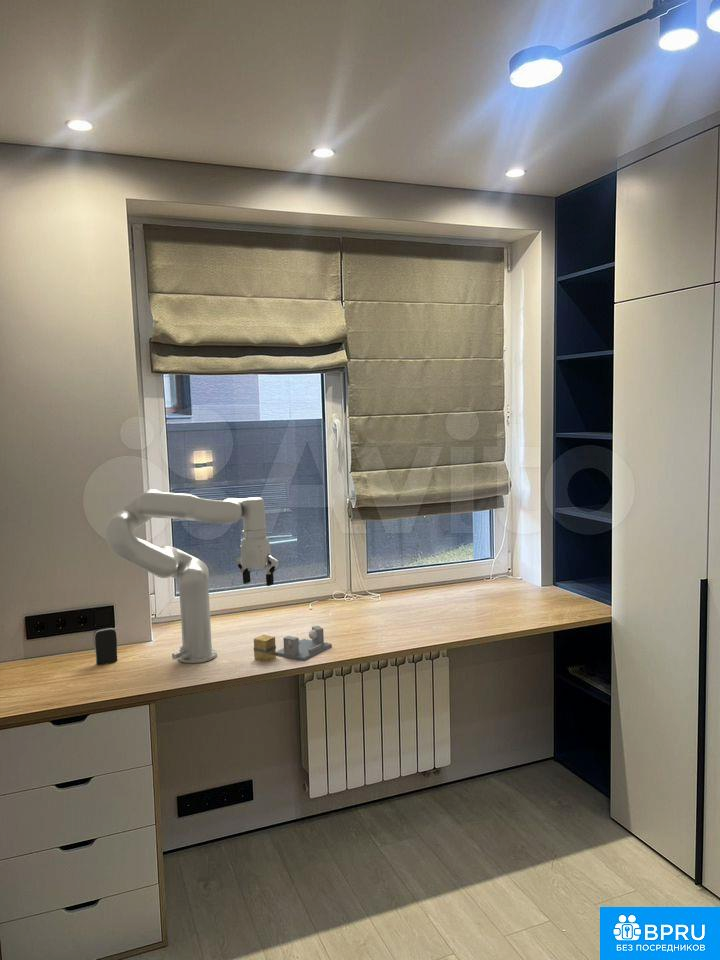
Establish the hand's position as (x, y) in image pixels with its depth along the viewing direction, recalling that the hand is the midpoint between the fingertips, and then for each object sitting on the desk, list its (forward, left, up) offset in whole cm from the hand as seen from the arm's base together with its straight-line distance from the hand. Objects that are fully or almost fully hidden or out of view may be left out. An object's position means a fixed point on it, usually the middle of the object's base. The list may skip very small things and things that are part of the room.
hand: (258, 584), depth 240 cm
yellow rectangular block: (-4, -5, -24) cm, 25 cm away
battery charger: (-32, +40, -24) cm, 56 cm away
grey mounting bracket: (+8, -12, -24) cm, 28 cm away
